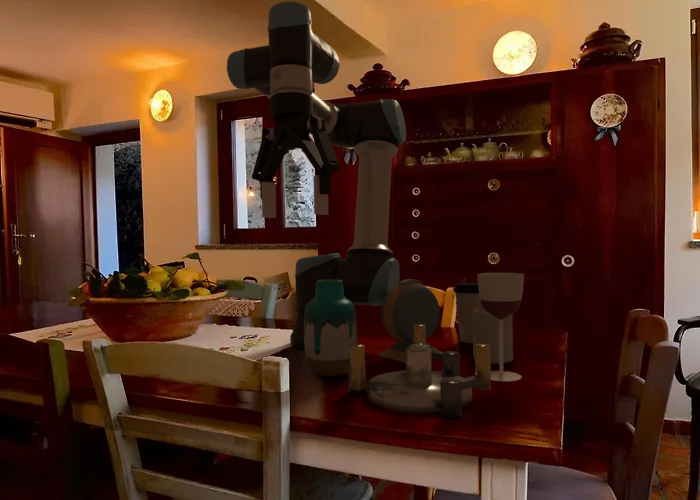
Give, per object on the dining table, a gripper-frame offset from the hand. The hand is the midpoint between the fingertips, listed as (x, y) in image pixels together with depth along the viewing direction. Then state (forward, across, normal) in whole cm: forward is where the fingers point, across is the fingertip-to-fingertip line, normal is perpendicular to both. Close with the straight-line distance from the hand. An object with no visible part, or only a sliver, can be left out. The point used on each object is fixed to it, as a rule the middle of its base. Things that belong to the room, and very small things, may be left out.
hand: (294, 216), depth 91 cm
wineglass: (+32, +24, +32) cm, 51 cm away
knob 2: (+31, +28, +10) cm, 43 cm away
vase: (+32, -3, +12) cm, 34 cm away
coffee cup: (+32, +4, +58) cm, 66 cm away
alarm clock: (+32, 0, +36) cm, 48 cm away
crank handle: (+31, +15, +23) cm, 42 cm away
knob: (+31, +11, +4) cm, 33 cm away
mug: (+32, +16, +45) cm, 57 cm away
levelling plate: (+32, +18, +12) cm, 38 cm away
